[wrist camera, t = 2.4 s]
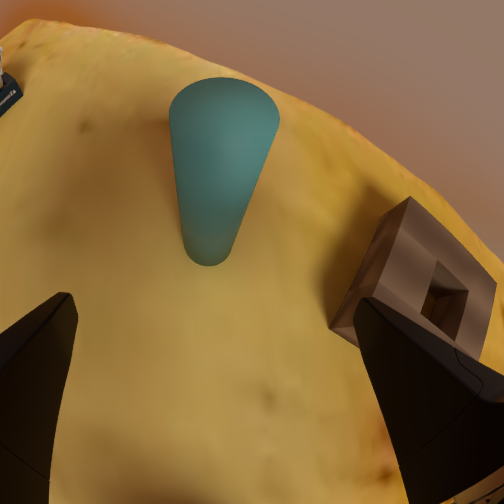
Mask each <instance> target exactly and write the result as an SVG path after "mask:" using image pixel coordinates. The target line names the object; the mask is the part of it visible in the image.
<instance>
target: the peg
mask: <svg viewBox="0 0 504 504" xmlns="http://www.w3.org/2000/svg"><path fill="white" fill-rule="evenodd" d="M169 121H170V133H171V144H172V154H173V163H174V172H175V181H176V189H177V197H178V205H179V212H180V219H181V226H182V233H183V239H184V246H185V250H186V253H187V254H188V256H189V257H190V258H191V259H192V260H193V261H194V262H195V263H197V264H200V265H203V266H214V265H217V264H219V263H221V262H223V261H224V260H225V259H226V258H227V257H228V255H229V254H230V251H231V249H232V246H233V243H234V241H235V238H236V235H237V233H238V230H239V227H240V225H241V222H242V219H243V217H244V214H245V212H246V209H247V206H248V204H249V201H250V198H251V196H252V193H253V191H254V188H255V186H256V183H257V180H258V178H259V175H260V173H261V170H262V168H263V165H264V162H265V160H266V157H267V155H268V152H269V150H270V147H271V145H272V142H273V140H274V137H275V135H276V132H277V130H278V127H279V121H280V117H279V112H278V109H277V106H276V104H275V103H274V101H273V100H272V99H271V97H270V96H269V95H268V94H267V93H265V92H264V91H263V90H262V89H260V88H259V87H257V86H255V85H253V84H251V83H248V82H246V81H243V80H239V79H234V78H224V77H218V78H208V79H204V80H200V81H197V82H195V83H192V84H190V85H189V86H187V87H185V88H184V89H183V90H181V91H180V92H179V93H178V94H177V95H176V97H175V98H174V100H173V101H172V103H171V106H170V110H169Z"/></svg>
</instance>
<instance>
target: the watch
mask: <svg viewBox="0 0 504 504" xmlns="http://www.w3.org/2000/svg"><path fill="white" fill-rule="evenodd" d="M2 52H3V49H2V47H0V75H2V74H3V73H2V65H1V53H2ZM22 96H23V94H22V92H21V90H20V88H19V86H18V84H17V82H16V80H15V79H14V78H13V77H12V76H10V75H9V74H8V73H6V72H5V73H4V74H3V75H2V76H0V117H1V116H2V115H3V114H4V113H5V112H6V111H7V110H8V109H9V108H10V107H11V106H12V105H13V104H15V103H16V102H17V101H18V100H19V99H20V98H21V97H22Z"/></svg>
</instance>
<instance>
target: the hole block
mask: <svg viewBox="0 0 504 504" xmlns="http://www.w3.org/2000/svg"><path fill="white" fill-rule="evenodd" d="M496 285H497V283H496V282H495V281H494V279H493V278H492V277H491V276H490V275H489V274H488V272H487V271H486V270H485V269H484V268H483V267H482V266H481V264H480V263H479V262H478V261H477V260H476V259H475V258H474V257H473V256H472V255H471V253H470V252H469V251H468V250H467V249H466V248H465V247H464V246H463V245H462V244H461V243H460V242H459V241H458V240H457V239H456V238H455V237H454V236H453V235H452V234H451V233H450V232H449V231H448V230H447V229H446V228H445V227H444V226H443V225H442V224H441V223H440V222H439V221H438V220H437V219H436V218H435V217H433V216H432V215H431V214H430V213H429V212H428V211H427V210H426V209H425V208H424V207H422V206H421V205H420V204H419V203H418V202H417V201H416V200H415V199H413V198H412V197H411V196H409V197H408V198H407V199H405V200H404V201H402V202H401V203H400V204H398V205H397V206H396V207H394V208H393V209H391V210H390V211H389V212H387V213H386V214H384V215H383V216H382V218H381V221H380V223H379V225H378V228H377V230H376V233H375V235H374V237H373V240H372V242H371V244H370V246H369V249H368V251H367V253H366V255H365V257H364V260H363V262H362V264H361V266H360V268H359V270H358V273H357V275H356V277H355V279H354V281H353V283H352V285H351V287H350V289H349V291H348V293H347V295H346V297H345V299H344V301H343V303H342V305H341V307H340V309H339V311H338V313H337V315H336V316H335V318H334V320H333V322H332V324H331V326H330V328H329V329H330V330H331V331H333V332H334V333H336V334H338V335H339V336H341V337H342V338H344V339H345V340H347V341H348V342H350V343H352V344H353V345H355V346H356V347H358V348H359V349H360V347H359V344H358V340H357V336H356V333H355V329H354V326H353V315H354V312H355V310H356V307H357V304H358V302H359V300H360V298H361V297H367V296H372V297H375V298H376V299H378V300H380V301H381V302H383V303H384V304H386V305H388V306H389V307H391V308H393V309H394V310H396V311H398V312H399V313H401V314H402V315H404V316H406V317H407V318H409V319H411V320H412V321H414V322H415V323H417V324H419V325H420V326H422V327H424V328H425V329H427V330H428V331H430V332H432V333H433V334H435V335H436V336H438V337H439V338H441V339H443V340H444V341H446V342H447V343H449V344H451V345H452V346H453V347H455V348H457V349H459V350H460V351H462V352H463V353H465V354H466V355H468V356H470V357H471V358H473V359H475V360H476V361H479V358H480V355H481V351H482V348H483V344H484V341H485V337H486V333H487V329H488V325H489V321H490V317H491V312H492V307H493V302H494V297H495V291H496ZM428 291H429V292H430V293H431V294H432V295H433V296H435V297H436V298H437V300H436V304H435V307H434V310H433V313H432V316H431V319H430V321H429V320H428V319H426V318H425V317H424V316H423V315H421V314H420V312H421V309H422V306H423V304H424V301H425V298H426V295H427V292H428Z"/></svg>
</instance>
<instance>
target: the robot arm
mask: <svg viewBox="0 0 504 504" xmlns="http://www.w3.org/2000/svg"><path fill="white" fill-rule="evenodd" d="M77 324H78V313H77V310H76V306H75V303H74V300H73V297H72V295H71V294H70V293H67V292H58V293H57V294H55V295H54V296H52V297H51V298H49V299H48V300H47V301H45V302H44V303H42V304H41V305H39V306H38V307H37V308H35V309H34V310H32V311H31V312H29V313H28V314H27V315H25V316H24V317H23V318H21V319H20V320H18V321H17V322H16V323H14V324H13V325H12V326H10V327H9V328H8V329H6V330H5V331H4V332H2V333H1V334H0V504H49V484H50V481H49V480H50V470H51V461H52V453H53V445H54V438H55V432H56V426H57V420H58V415H59V410H60V405H61V400H62V396H63V391H64V387H65V383H66V379H67V375H68V371H69V367H70V362H71V357H72V351H73V345H74V339H75V334H76V329H77ZM353 326H354V329H355V333H356V336H357V340H358V344H359V347H360V351H361V355H362V358H363V362H364V364H365V367H366V370H367V373H368V375H369V378H370V381H371V383H372V386H373V389H374V392H375V395H376V397H377V400H378V403H379V406H380V409H381V412H382V415H383V418H384V421H385V424H386V427H387V430H388V433H389V436H390V439H391V442H392V445H393V448H394V452H395V455H396V458H397V462H398V465H399V469H400V472H401V476H402V479H403V483H404V486H405V490H406V494H407V498H408V501H409V504H440V503H442V502H444V501H446V500H448V499H450V498H452V497H453V499H454V502H453V503H451V504H504V376H503V375H502V374H500V373H498V372H496V371H494V370H492V369H491V368H489V367H487V366H485V365H483V364H482V363H480V362H478V361H476V360H475V359H473V358H471V357H470V356H468V355H466V354H465V353H463V352H462V351H460V350H459V349H457V348H455V347H453V346H452V345H451V344H449V343H447V342H446V341H444V340H443V339H441V338H439V337H438V336H436V335H435V334H433V333H432V332H430V331H428V330H427V329H425V328H424V327H422V326H420V325H419V324H417V323H415V322H414V321H412V320H411V319H409V318H407V317H406V316H404V315H402V314H401V313H399V312H398V311H396V310H394V309H393V308H391V307H389V306H388V305H386V304H384V303H383V302H381V301H380V300H378V299H376V298H375V297H372V296H367V297H361V298H360V300H359V302H358V304H357V307H356V310H355V312H354V315H353Z"/></svg>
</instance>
